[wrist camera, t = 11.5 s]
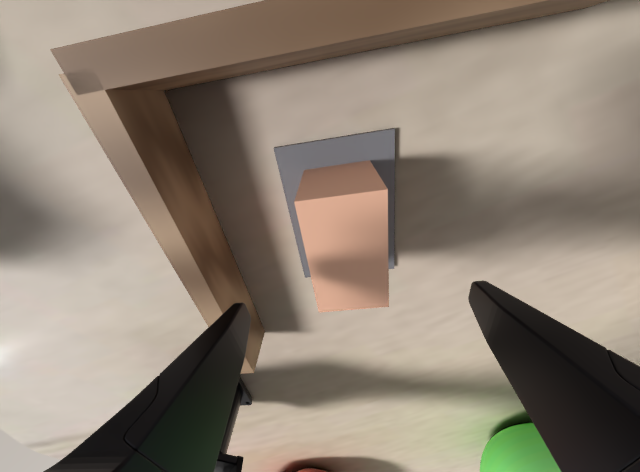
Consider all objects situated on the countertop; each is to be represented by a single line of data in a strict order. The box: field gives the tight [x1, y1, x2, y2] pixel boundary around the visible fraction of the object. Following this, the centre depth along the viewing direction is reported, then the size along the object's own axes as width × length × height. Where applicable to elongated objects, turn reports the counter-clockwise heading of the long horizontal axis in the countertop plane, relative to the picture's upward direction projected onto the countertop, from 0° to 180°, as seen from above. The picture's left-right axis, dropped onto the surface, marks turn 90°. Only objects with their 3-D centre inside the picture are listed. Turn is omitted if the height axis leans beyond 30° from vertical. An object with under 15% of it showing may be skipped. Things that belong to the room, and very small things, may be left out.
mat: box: [274, 128, 395, 277], centre depth 16 cm, size 10×7×1 cm
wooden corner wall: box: [50, 0, 608, 374], centre depth 15 cm, size 22×22×4 cm
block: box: [294, 160, 389, 312], centre depth 14 cm, size 4×7×5 cm, turn 9°
